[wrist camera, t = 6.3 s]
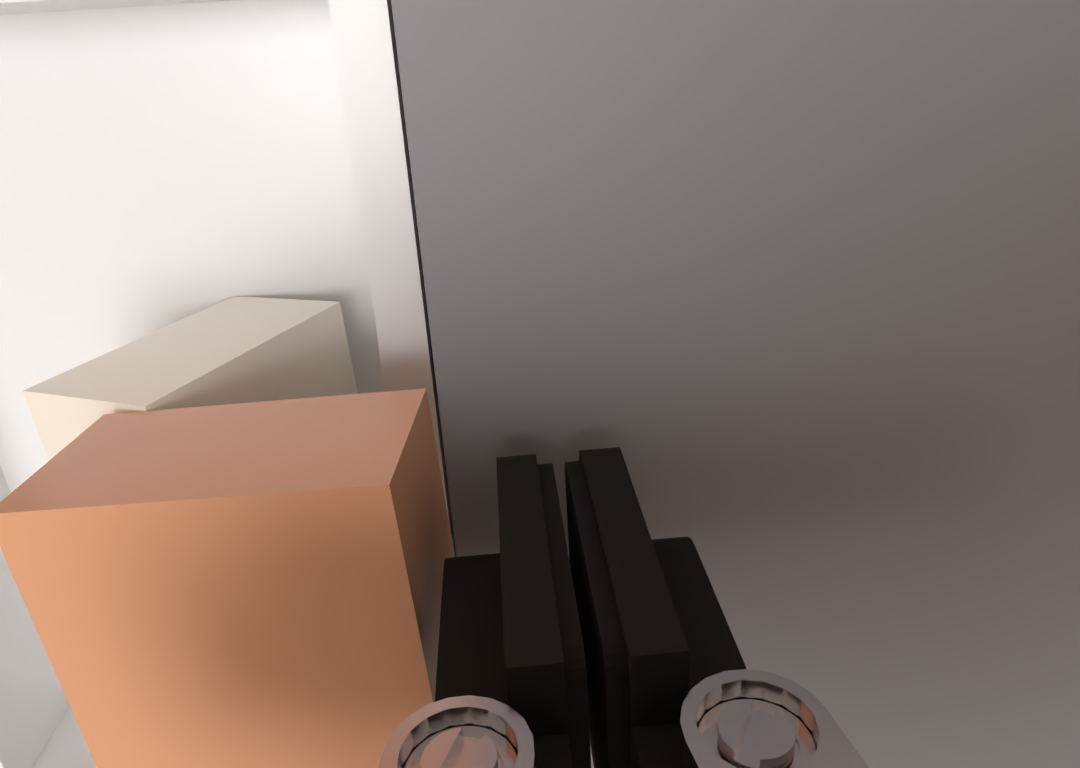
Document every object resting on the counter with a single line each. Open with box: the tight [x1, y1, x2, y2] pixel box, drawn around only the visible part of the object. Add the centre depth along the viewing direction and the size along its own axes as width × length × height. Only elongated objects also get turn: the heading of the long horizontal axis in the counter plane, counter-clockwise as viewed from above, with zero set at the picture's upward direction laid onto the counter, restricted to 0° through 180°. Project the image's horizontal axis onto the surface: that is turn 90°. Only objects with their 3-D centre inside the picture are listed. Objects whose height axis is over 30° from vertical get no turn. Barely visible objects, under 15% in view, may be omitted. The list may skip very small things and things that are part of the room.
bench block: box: [391, 0, 1080, 768], centre depth 15 cm, size 12×20×6 cm, turn 3°
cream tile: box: [23, 296, 358, 460], centre depth 14 cm, size 4×4×2 cm
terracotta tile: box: [0, 388, 455, 768], centre depth 11 cm, size 4×4×2 cm
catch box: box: [0, 0, 457, 768], centre depth 15 cm, size 10×16×4 cm, turn 3°
